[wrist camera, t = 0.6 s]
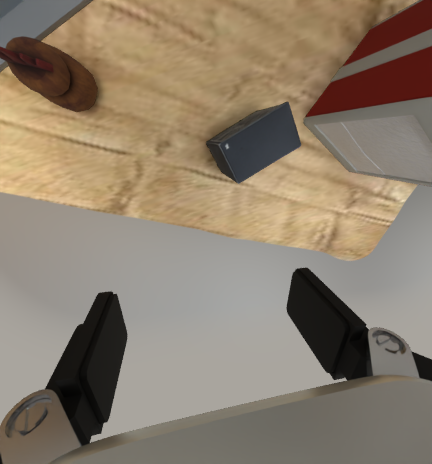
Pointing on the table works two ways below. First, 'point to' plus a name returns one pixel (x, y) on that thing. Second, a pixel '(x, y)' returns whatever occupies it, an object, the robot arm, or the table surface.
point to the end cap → (34, 18)
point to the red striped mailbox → (383, 101)
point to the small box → (255, 142)
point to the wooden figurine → (50, 73)
